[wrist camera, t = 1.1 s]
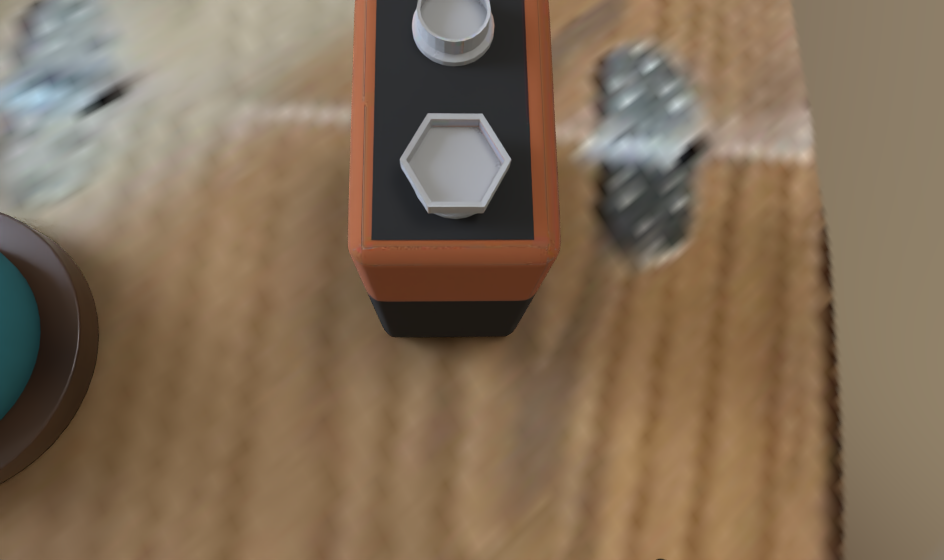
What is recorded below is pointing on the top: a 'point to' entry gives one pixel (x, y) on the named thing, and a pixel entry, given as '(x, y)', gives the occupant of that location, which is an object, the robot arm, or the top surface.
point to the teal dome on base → (40, 343)
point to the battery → (452, 163)
